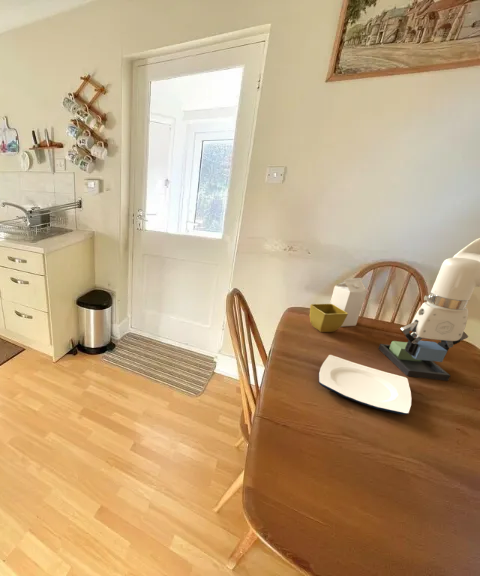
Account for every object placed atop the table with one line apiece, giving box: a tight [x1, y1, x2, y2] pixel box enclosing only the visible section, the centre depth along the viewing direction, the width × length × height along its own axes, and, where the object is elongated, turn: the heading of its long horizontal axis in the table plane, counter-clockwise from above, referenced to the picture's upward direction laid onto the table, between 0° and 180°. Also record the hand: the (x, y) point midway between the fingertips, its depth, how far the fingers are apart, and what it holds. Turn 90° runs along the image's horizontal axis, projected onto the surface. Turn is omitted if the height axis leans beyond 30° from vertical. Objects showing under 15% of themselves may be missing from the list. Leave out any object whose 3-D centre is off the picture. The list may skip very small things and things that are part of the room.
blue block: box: [411, 340, 448, 363], centre depth 95 cm, size 6×5×4 cm
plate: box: [318, 354, 412, 416], centre depth 90 cm, size 20×20×3 cm
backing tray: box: [378, 343, 451, 382], centre depth 100 cm, size 10×16×2 cm, turn 165°
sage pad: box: [389, 340, 422, 362], centre depth 103 cm, size 6×5×4 cm
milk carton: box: [329, 277, 368, 328], centre depth 123 cm, size 7×7×19 cm
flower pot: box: [308, 303, 348, 333], centre depth 120 cm, size 9×9×9 cm
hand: (423, 354), depth 95 cm, fingers closed on blue block, 6 cm apart
